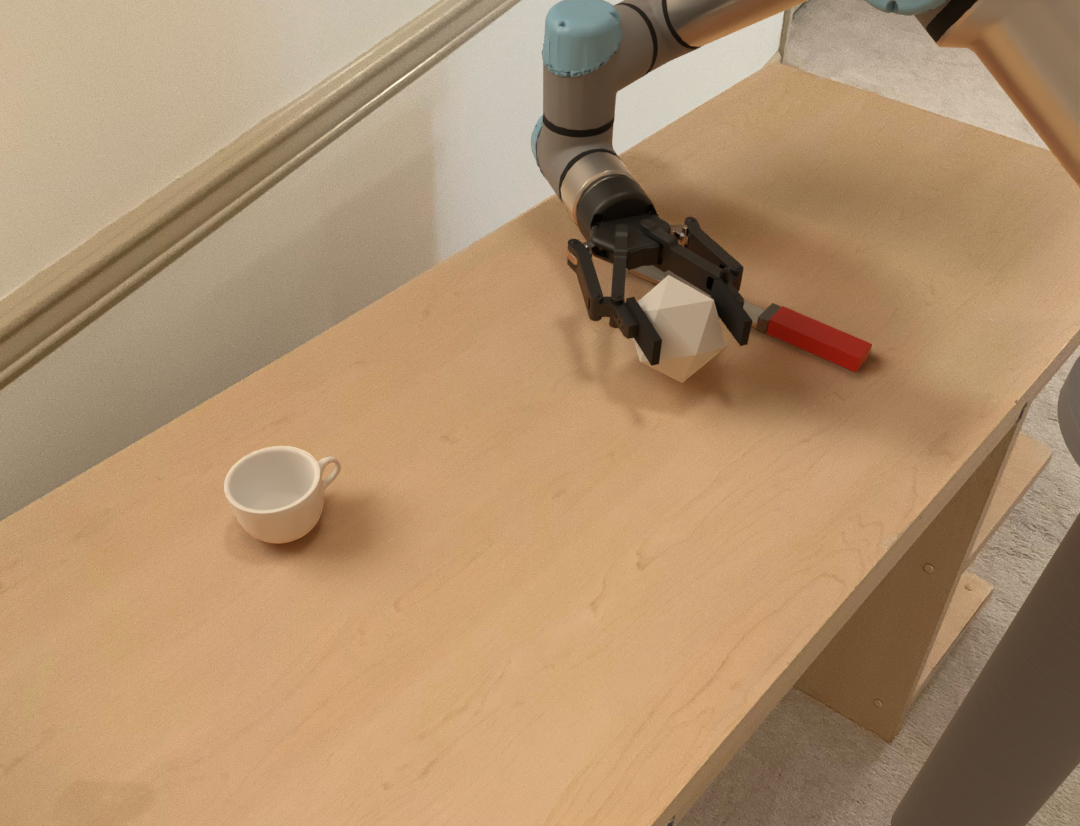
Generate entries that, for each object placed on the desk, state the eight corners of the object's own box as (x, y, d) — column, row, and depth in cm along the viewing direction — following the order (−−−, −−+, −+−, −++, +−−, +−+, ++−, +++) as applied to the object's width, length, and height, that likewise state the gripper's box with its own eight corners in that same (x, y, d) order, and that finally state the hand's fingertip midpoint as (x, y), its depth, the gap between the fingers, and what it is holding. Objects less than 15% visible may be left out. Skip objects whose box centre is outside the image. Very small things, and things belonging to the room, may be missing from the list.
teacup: (267, 571, 83) (253, 529, 79) (221, 517, 87) (206, 474, 83) (369, 514, 88) (361, 470, 83) (321, 464, 91) (311, 420, 87)
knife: (868, 357, 101) (873, 343, 100) (855, 373, 100) (859, 358, 98) (642, 260, 112) (643, 246, 110) (627, 273, 110) (628, 259, 109)
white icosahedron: (737, 371, 98) (725, 265, 96) (715, 385, 90) (701, 270, 88) (652, 381, 102) (639, 279, 99) (624, 395, 94) (609, 284, 91)
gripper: (697, 222, 109) (797, 352, 95) (512, 257, 105) (590, 399, 91) (706, 157, 103) (815, 285, 90) (511, 191, 99) (594, 332, 85)
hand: (701, 343), depth 90 cm, fingers closed on white icosahedron, 8 cm apart
